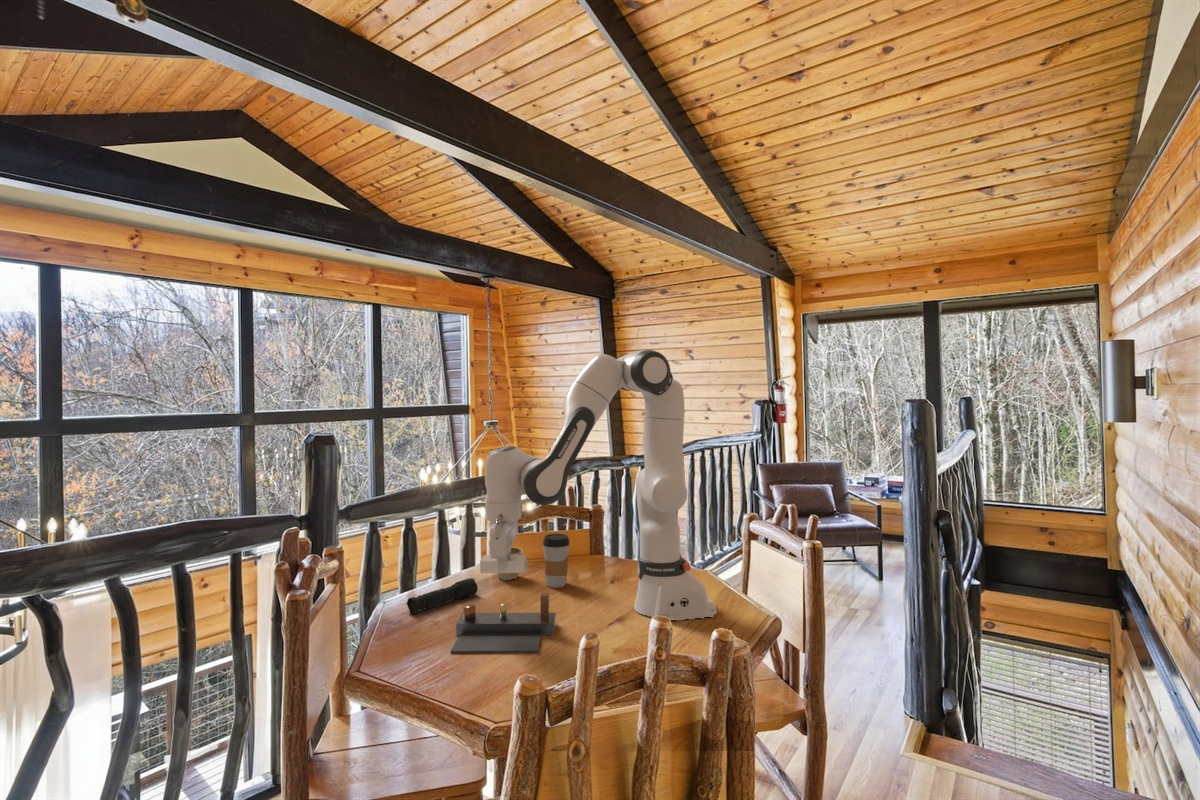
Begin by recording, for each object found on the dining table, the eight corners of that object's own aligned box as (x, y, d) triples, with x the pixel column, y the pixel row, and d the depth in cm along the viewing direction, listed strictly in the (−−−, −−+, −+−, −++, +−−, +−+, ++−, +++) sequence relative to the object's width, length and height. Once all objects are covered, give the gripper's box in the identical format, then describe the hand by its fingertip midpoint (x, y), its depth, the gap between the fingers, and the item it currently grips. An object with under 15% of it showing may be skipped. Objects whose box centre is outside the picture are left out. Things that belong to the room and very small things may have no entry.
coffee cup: (565, 590, 174) (565, 540, 174) (539, 588, 176) (539, 539, 176) (572, 581, 183) (572, 534, 182) (547, 579, 184) (547, 532, 184)
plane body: (555, 624, 149) (555, 589, 149) (553, 635, 142) (553, 599, 142) (462, 624, 149) (462, 589, 149) (456, 635, 142) (456, 599, 142)
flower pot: (491, 574, 189) (491, 548, 189) (520, 571, 192) (520, 546, 192) (495, 583, 180) (495, 556, 180) (525, 580, 183) (525, 553, 183)
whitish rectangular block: (527, 566, 148) (527, 554, 148) (524, 572, 143) (524, 560, 143) (484, 567, 148) (484, 555, 148) (480, 573, 143) (480, 561, 143)
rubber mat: (541, 638, 140) (541, 635, 140) (537, 653, 132) (537, 650, 132) (458, 638, 140) (458, 636, 140) (450, 653, 132) (450, 650, 132)
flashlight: (478, 596, 170) (478, 579, 170) (416, 617, 154) (415, 598, 154) (467, 592, 173) (467, 576, 173) (405, 612, 157) (405, 594, 157)
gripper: (509, 520, 134) (510, 579, 135) (521, 503, 155) (521, 554, 155) (482, 521, 134) (483, 580, 135) (497, 503, 155) (498, 554, 155)
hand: (504, 566), depth 145 cm, fingers closed on whitish rectangular block, 5 cm apart
